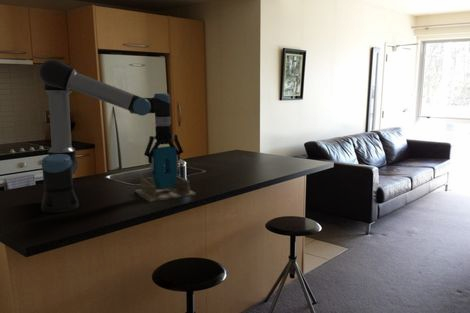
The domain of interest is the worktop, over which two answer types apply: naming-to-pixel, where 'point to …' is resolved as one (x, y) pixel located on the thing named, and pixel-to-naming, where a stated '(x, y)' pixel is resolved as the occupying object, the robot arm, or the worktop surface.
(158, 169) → the block
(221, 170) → the worktop surface
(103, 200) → the worktop surface
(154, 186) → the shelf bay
